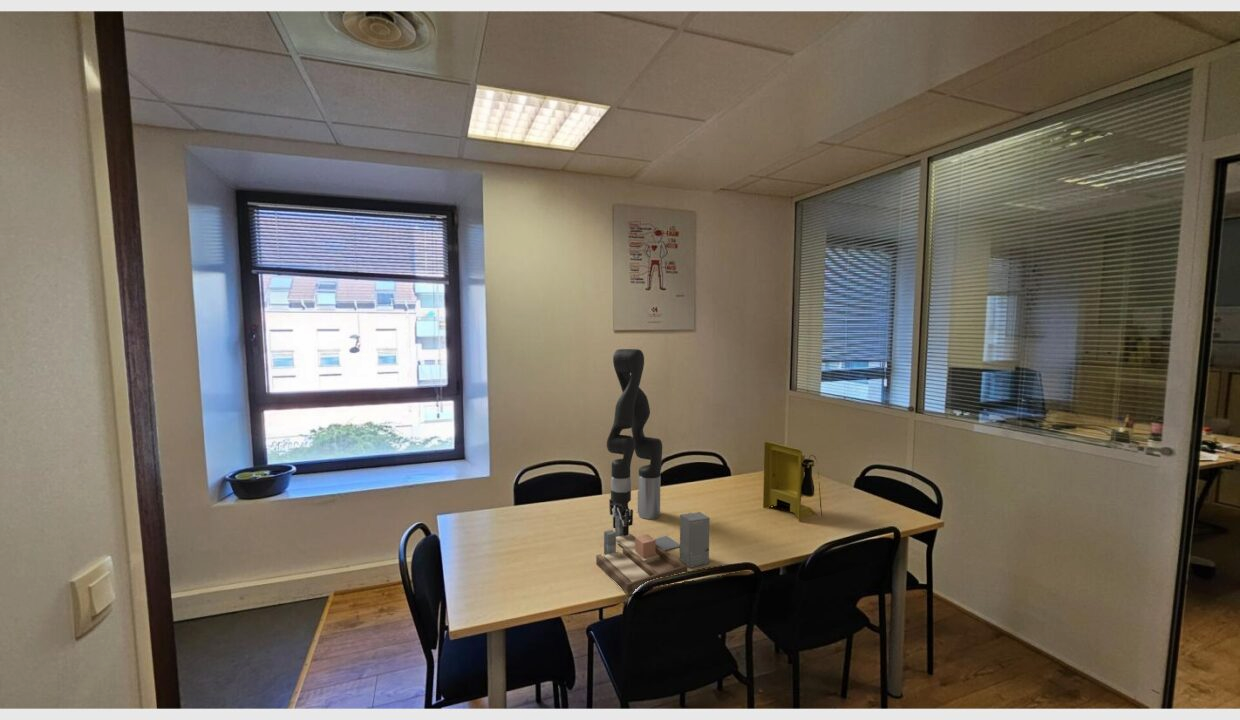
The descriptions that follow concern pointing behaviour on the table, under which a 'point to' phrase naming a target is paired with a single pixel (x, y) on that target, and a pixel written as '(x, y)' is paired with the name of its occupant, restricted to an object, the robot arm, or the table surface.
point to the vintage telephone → (787, 478)
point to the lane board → (643, 568)
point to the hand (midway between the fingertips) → (620, 531)
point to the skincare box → (694, 539)
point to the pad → (666, 543)
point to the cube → (645, 546)
